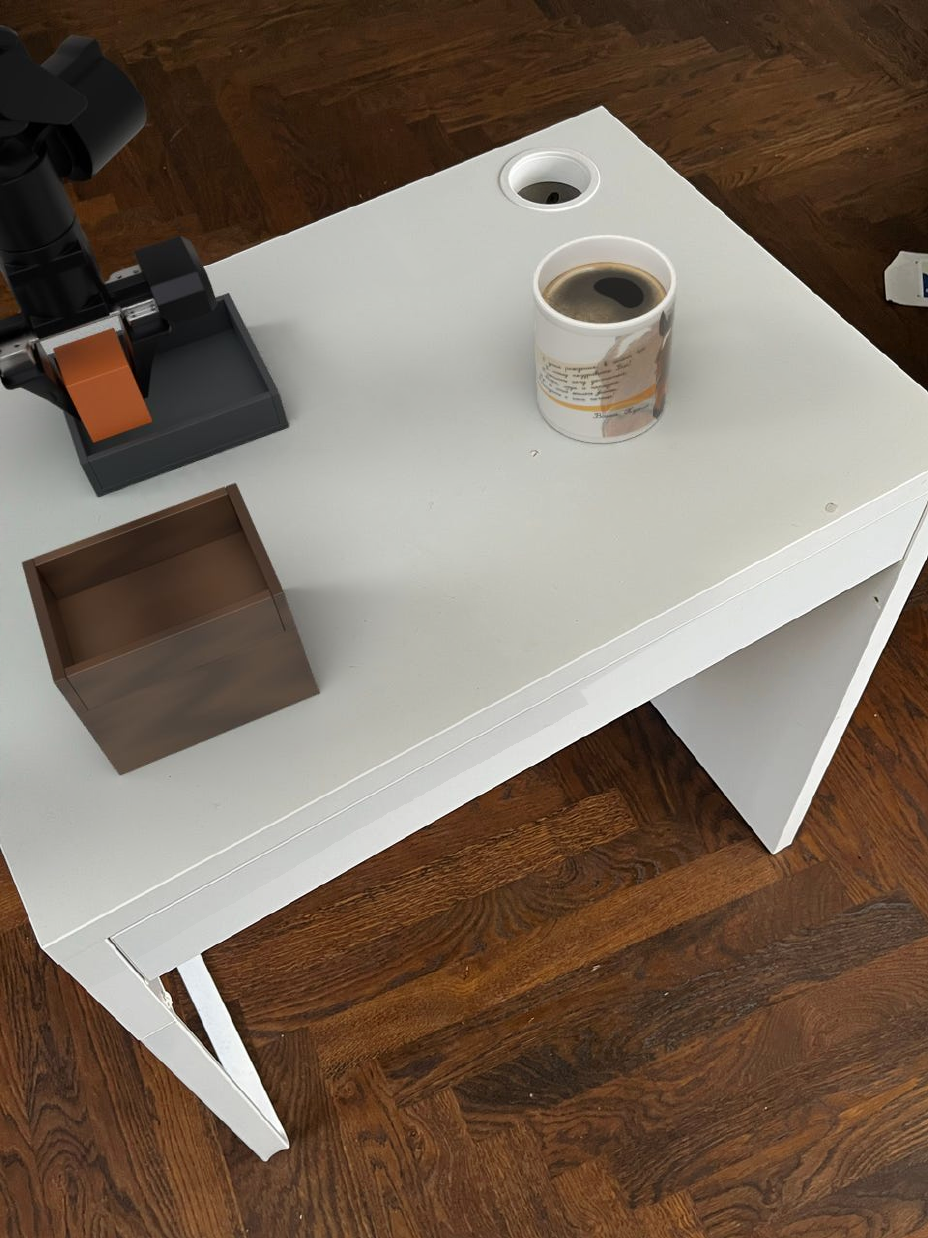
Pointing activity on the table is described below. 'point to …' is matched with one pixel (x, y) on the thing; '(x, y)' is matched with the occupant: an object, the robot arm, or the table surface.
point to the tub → (188, 403)
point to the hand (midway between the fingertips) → (112, 405)
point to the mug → (603, 336)
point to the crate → (169, 629)
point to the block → (102, 385)
